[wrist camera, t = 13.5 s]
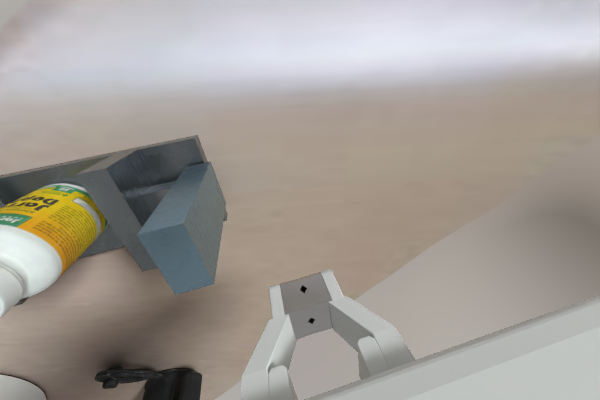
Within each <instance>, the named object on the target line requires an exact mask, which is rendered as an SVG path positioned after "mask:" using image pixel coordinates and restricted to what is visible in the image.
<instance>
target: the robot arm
mask: <svg viewBox="0 0 600 400" xmlns="http://www.w3.org/2000/svg"><path fill="white" fill-rule="evenodd" d="M269 296H270V305H271V313H272V319H270V320H269V321H268V323H267V325H266V327H265V329H264V331H263V333H262V336H261V338H260V340H259V342H258V344H257V346H256V348H255V350H254V352H253V354H252V357H251V359H250V361H249V363H248V365H247V367H246V369H245V371H244V373H243V375H242V392H241V400H298V399H297V395H296V393H295V390H294V387H293V384H292V382H291V379H290V376H289V374H288V369H289V365H290V362H291V358H292V354H293V351H294V347H295V344H296V340H297V339H299V338H302V337H305V336H308V335H311V334H313V333H317V332H320V331H324V330H327V329H331V328H333V330H334V331H335V332H337V333H338V334H339V335H340V336H341V337H342V338H343V339H344V340H345V341H346V342H347V343H348V344H350V345H351V346H352V347H353V348H354V349H355V350H356V351H357V352H358V359H359V376H360V379H361V380H359V381H356V382H353V383H350V384H348V385H344V386H342V387H339V388H336V389H333V390H331V391H328V392H325V393H322V394H319V395H316V396H314V397H311V398H308V399H305V400H600V295H598V296H595V297H592V298H589V299H587V300H584V301H581V302H578V303H575V304H572V305H570V306H567V307H564V308H561V309H558V310H556V311H553V312H550V313H547V314H544V315H541V316H539V317H536V318H533V319H531V320H527V321H525V322H522V323H519V324H516V325H513V326H511V327H508V328H505V329H502V330H499V331H497V332H494V333H491V334H488V335H485V336H483V337H480V338H477V339H474V340H471V341H468V342H466V343H463V344H460V345H457V346H454V347H452V348H449V349H446V350H443V351H441V352H437V353H435V354H432V355H429V356H426V357H424V358H421V359H418V360H415V358H414V357H413V355H412V354H411V352H410V350H409V349H408V347H407V346H406V344H405V342H404V341H403V339H402V338H401V336H400V334H399V333H398V331H397V330H396V328H395V327H394V326H393V325H391V324H390V323H388V322H387V321H385V320H384V319H382V318H380V317H379V316H377V315H376V314H374V313H373V312H371V311H369V310H368V309H366V308H365V307H363V306H362V305H360V304H359V303H357V302H355V301H354V300H352V299H351V298H349V297H348V296H345V297H344V296H343V294H342V292H341V290H340V287H339V285H338V283H337V281H336V279H335V277H334V275H333V273H332V271H331V270H330V269H329V270H326V271H322V272H319V273H315V274H312V275H309V276H305V277H302V278H300V279H296V280H292V281H288V282H284V283H281V284H277V285H274V286H270V287H269ZM0 400H46V396H45V394H44V393H43V391H42V390H41V389H40V388H38V387H37V386H35V385H34V384H32V383H30V382H27V381H25V380H22V379H19V378H15V377H11V376H6V375H0Z"/></svg>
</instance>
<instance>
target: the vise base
mask: <svg viewBox="0 0 600 400" xmlns="http://www.w3.org/2000/svg"><path fill="white" fill-rule="evenodd" d="M135 150H137V152H138V154H139V156H140V158H141V160H142V162H143V164H144V166H145V168H146V169H147V171H148V173H149V175H150V177H151V179H152V181H153V183H154V185H159V184H163V183H168V182H172V181H176V180H177V178H178V177H179V176H180V174H181V173H182V172H183V170H184V169H185V167H188V166H193V165H197V164H202V163H206V162H207V159H206V157H205V154H204V151H203V149H202V146H201V143H200V141H199V138H198V135H196V136H191V137H186V138H181V139H177V140H172V141H167V142H162V143H157V144H152V145H147V146H142V147H138V148H133V149H128V150H123V151H118V152H113V153H108V154H104V155H99V156H94V157H89V158H84V159H79V160H74V161H70V162H65V163H60V164H55V165H50V166H45V167H40V168H36V169H31V170H26V171H21V172H16V173H11V174H6V175H1V176H0V208H1V207H3V206H5V205H7V204H9V203H11V202H13V201H15V200H17V199H19V198H21V197H23V196H26V195H28V194H30V193H32V192H33V191H36V190H38V189H40V188H42V187H45V186H48V185H52V184H60V183H66V184H72V185H77V186H80V187H83V186H82V184H81V183H80V181H79V180H78V178H77V177H76V175H75V174H77V173H79V172H81V171H83V170H85V169H87V168H89V167H91V166H93V165H95V164H97V163H99V162H100V161H102V160H104V159H106V158H108V157H110V156H112V155H115V154H120V153H125V152H130V151H135ZM83 188H84V187H83ZM226 220H227V212H226V209H225V213H224V220H223V221H226ZM121 247H125V245H124V244H123V242H122V241H121V240H120V238H119V237H118V235H117V234H116V233H115V231H114V230H113V228H112V227H111V225H110V224H108V226H107V228H106V229H105V230H104V231H103V232H102V234H101V235H100V236H99V237H98V238H97V239H96V240H95V241H94V242H93V243H92V244H91V245H90V246H89V247H88V248H87V249H86V250H85V251H84V252H83V253H82V254H81V255H80V256H79V257H78V258H82V257H86V256H90V255H93V254H97V253H101V252H105V251H109V250H113V249H117V248H121ZM78 258H77V259H78ZM28 298H29V297H27V298H23V299H20V300H19V302H18V303H17V304H16V305H19V304H23V303H24V302H25V301H26V300H27V299H28ZM16 305H14V306H16Z"/></svg>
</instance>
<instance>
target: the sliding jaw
mask: <svg viewBox="0 0 600 400" xmlns="http://www.w3.org/2000/svg"><path fill="white" fill-rule="evenodd" d="M75 175H76V177H77V178H78V180H79V181H80V183H81V184H82V186H83V187H84V188H85V190H86V191H87V193H88V194H89V195H90V197H91V198H92V200H93V201H94V203H95V204H96V205H97V207H98V208H99V210H100V211H101V213H102V214H103V215H104V217H105V218H106V220H107V221H108V223H109V224H110V225H111V227H112V228H113V230H114V231H115V233H116V234H117V235H118V237H119V238H120V240H121V241H122V242H123V244H124V245H125V247H126V248H127V250H128V251H129V252H130V254H131V255H132V257H133V258H134V260H135V261H136V262H137V264H138V265H139V267H140V268H141V269H142V271H146V270H149V269H153V268H157V267H158V269H159V270H160V272H161V273H162V275H163V276H164V278H165V279H166V281H167V282H168V284H169V286H170V287H171V289H172V290H173V292H174V293H175V295H177V294H181V293H184V292H188V291H191V290H195V289H198V288H202V287H205V286H209V285H212V284H214V281H215V274H216V267H217V261H218V254H219V247H220V240H221V233H222V227H223V220H224V213H225V206H226V202H225V199H224V196H223V194H222V191H221V188H220V186H219V183H218V180H217V178H216V175H215V172H214V170H213V167H212V164H211V162H206V163H202V164H197V165H193V166H188V167H185V169H184V170H183V172H182V173H181V174H180V176H179V177H178V178H177V180H176V181H172V182H168V183H163V184H159V185H154V183H153V181H152V179H151V177H150V175H149V173H148V171H147V169H146V168H145V166H144V164H143V162H142V160H141V158H140V156H139V154H138V152H137V150H135V151H130V152H125V153H120V154H115V155H112V156H110V157H108V158H106V159H104V160H102V161H100V162H99V163H97V164H95V165H93V166H91V167H89V168H87V169H85V170H83V171H81V172H79V173H77V174H75Z"/></svg>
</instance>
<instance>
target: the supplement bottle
mask: <svg viewBox="0 0 600 400" xmlns="http://www.w3.org/2000/svg"><path fill="white" fill-rule="evenodd" d="M108 224H109V223H108V221H107V220H106V218H105V217H104V215H103V214H102V213H101V211H100V210H99V208H98V207H97V205H96V204H95V203H94V201H93V200H92V198H91V197H90V195H89V194H88V193H87V191H86V190H85V188H83V187H80V186H77V185H72V184H66V183H60V184H52V185H48V186H45V187H42V188H40V189H38V190H36V191H33V192H32V193H30V194H28V195H26V196H23V197H21V198H19V199H17V200H15V201H13V202H11V203H9V204H7V205H5V206H3V207H1V208H0V318H1V317H2V316H3V315H4V314H5V313H6V312H7V311H8V310H10V309H11V308H12V307H13V306H14V305H16V304H17V303H18V302H19V300H20V299H23V298H27V297H30V296H33V295H35V294H38V293H40V292H42V291H44V290H45V289H47V288H48V287H50V286H51V285H52V284H53V283H54V282H55V281H56V280H57V279H58V278H59V277H60V276H61V275H62V274H63V273H64V272H65V271H66V270H67V269H68V268H69V267H70V266H71V265H72V264H73V263H74V262H75V260H76V259H77V258H78V257H79V256H80V255H81V254H82V253H83V252H84V251H85V250H86V249H87V248H88V247H89V246H90V245H91V244H92V243H93V242H94V241H95V240H96V239H97V238H98V237H99V236H100V235H101V234H102V232H103V231H104V230H105V229H106V228H107V226H108Z"/></svg>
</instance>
